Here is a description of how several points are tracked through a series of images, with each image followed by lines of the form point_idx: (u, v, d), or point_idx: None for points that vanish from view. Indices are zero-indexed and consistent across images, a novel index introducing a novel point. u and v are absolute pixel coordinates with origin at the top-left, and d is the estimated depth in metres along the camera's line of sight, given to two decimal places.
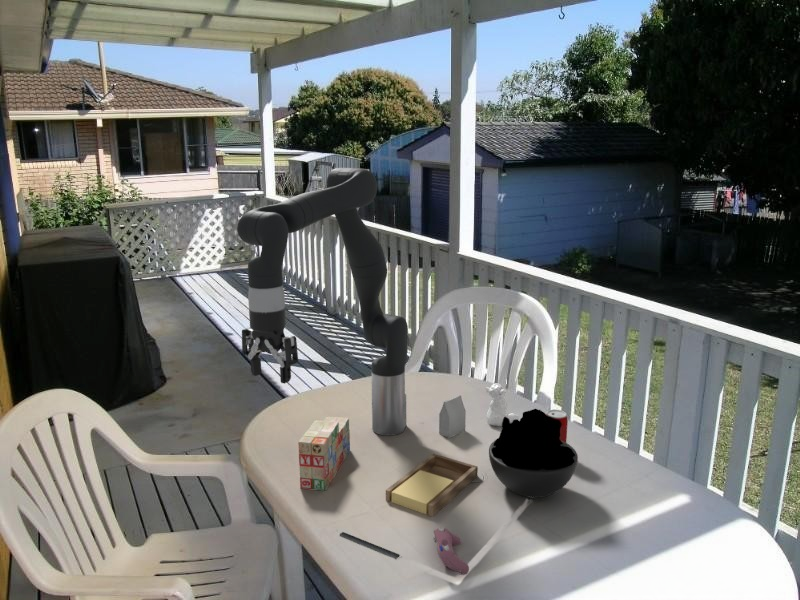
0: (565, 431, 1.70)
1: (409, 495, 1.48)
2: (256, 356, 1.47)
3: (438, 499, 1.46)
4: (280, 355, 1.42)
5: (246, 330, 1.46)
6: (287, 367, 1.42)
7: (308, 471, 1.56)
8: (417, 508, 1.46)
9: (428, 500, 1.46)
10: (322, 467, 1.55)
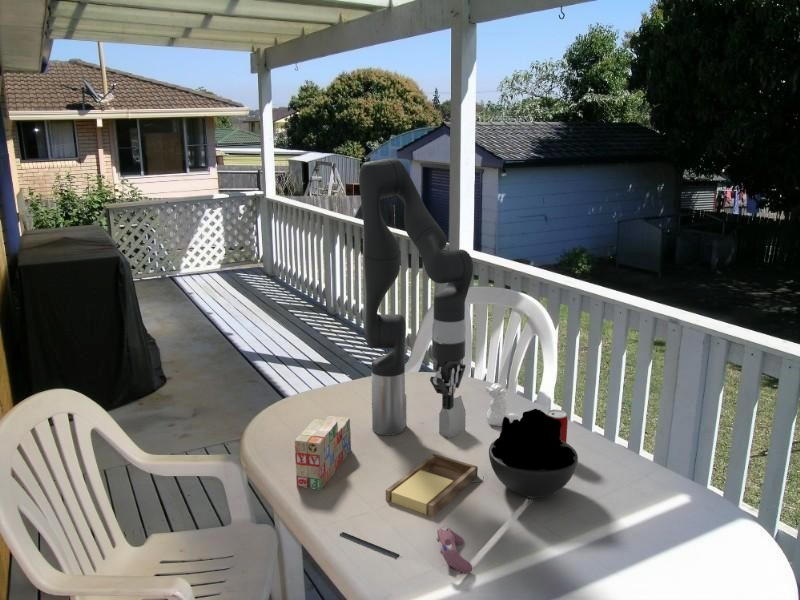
0: (565, 431, 1.70)
1: (409, 495, 1.48)
2: None
3: (438, 499, 1.46)
4: None
5: (439, 378, 1.50)
6: None
7: (304, 470, 1.57)
8: (417, 508, 1.46)
9: (428, 500, 1.46)
10: (318, 466, 1.56)
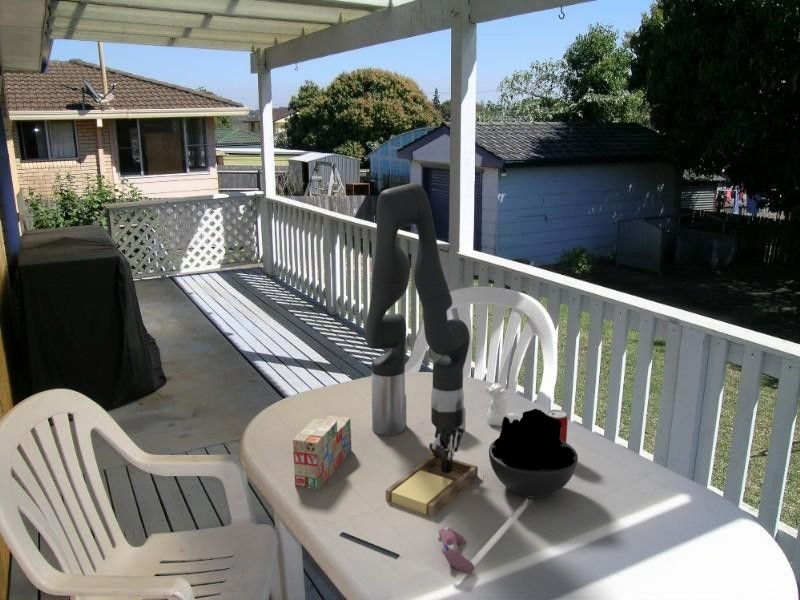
0: (565, 431, 1.70)
1: (409, 495, 1.48)
2: None
3: (438, 499, 1.46)
4: None
5: (438, 445, 1.54)
6: None
7: (302, 469, 1.57)
8: (417, 508, 1.46)
9: (428, 500, 1.46)
10: (316, 466, 1.56)
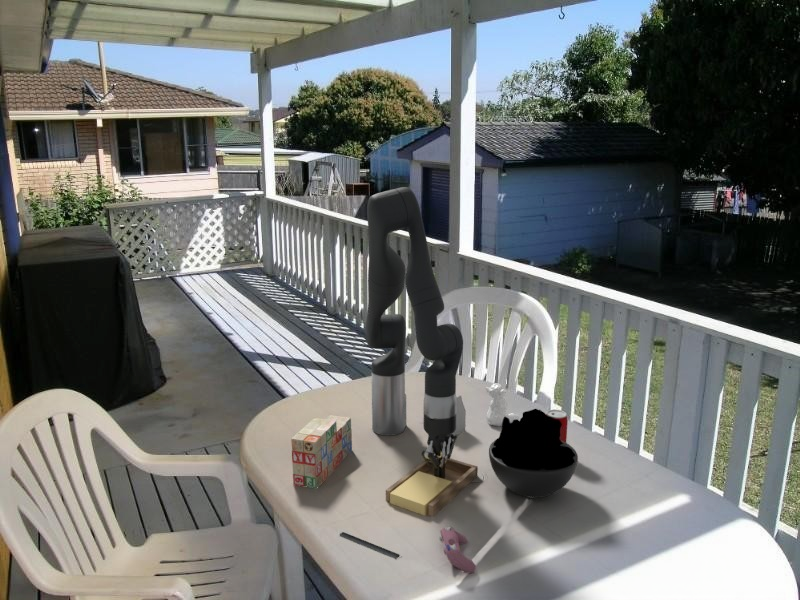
0: (565, 431, 1.70)
1: (407, 496, 1.48)
2: None
3: (438, 499, 1.46)
4: None
5: (430, 452, 1.51)
6: None
7: (300, 468, 1.58)
8: (415, 509, 1.46)
9: (426, 501, 1.45)
10: (314, 465, 1.56)
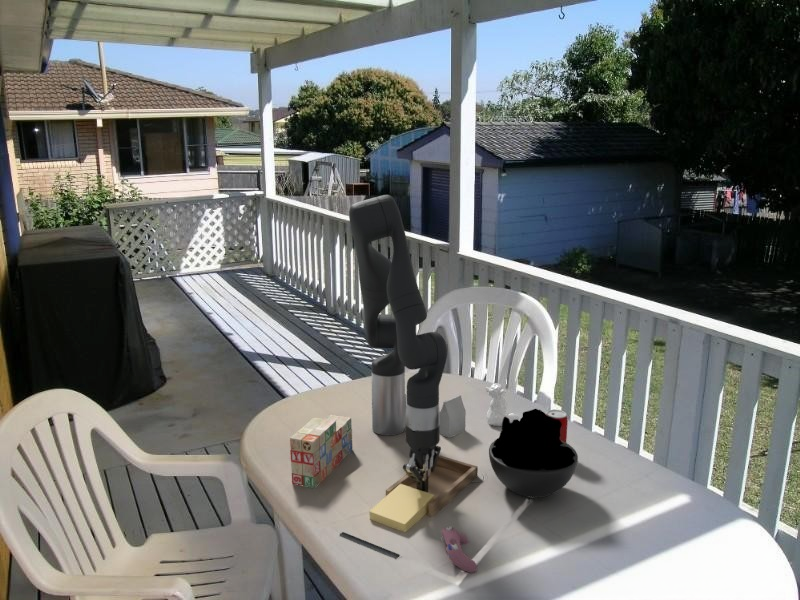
0: (565, 431, 1.70)
1: (387, 514, 1.42)
2: None
3: (438, 499, 1.46)
4: None
5: (412, 466, 1.44)
6: None
7: (299, 468, 1.58)
8: (396, 528, 1.40)
9: (407, 520, 1.39)
10: (312, 464, 1.57)
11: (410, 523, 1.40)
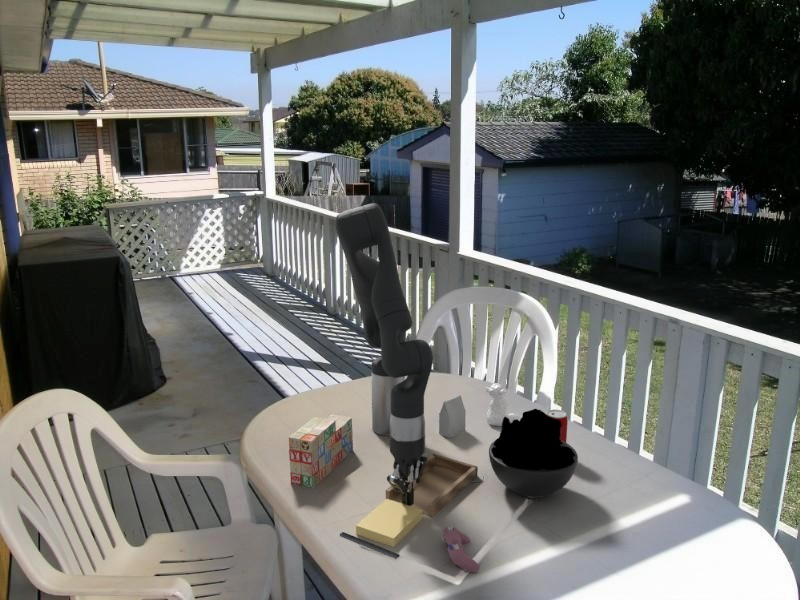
0: (565, 431, 1.70)
1: (375, 528, 1.37)
2: None
3: (438, 499, 1.46)
4: None
5: (396, 477, 1.40)
6: None
7: (298, 467, 1.58)
8: (384, 543, 1.35)
9: (396, 534, 1.35)
10: (310, 464, 1.57)
11: (399, 538, 1.35)
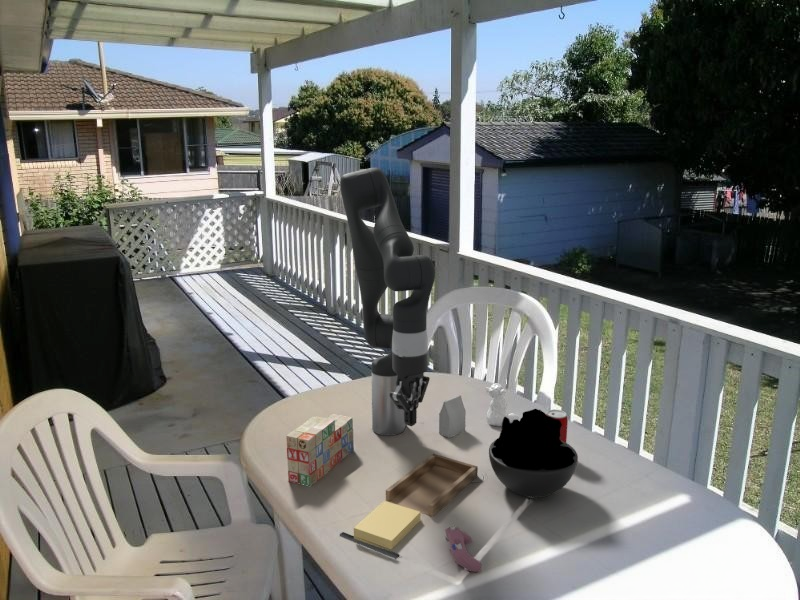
0: (565, 431, 1.70)
1: (372, 530, 1.36)
2: None
3: (438, 499, 1.46)
4: None
5: (399, 393, 1.39)
6: None
7: (295, 466, 1.59)
8: (382, 545, 1.34)
9: (394, 536, 1.34)
10: (307, 463, 1.57)
11: (396, 540, 1.35)
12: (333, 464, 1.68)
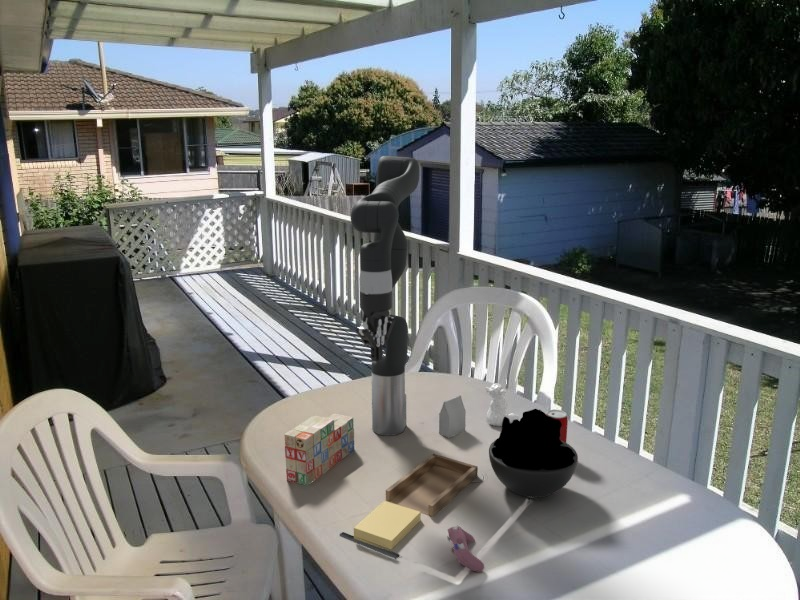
0: (565, 431, 1.70)
1: (372, 530, 1.36)
2: None
3: (438, 499, 1.46)
4: None
5: (365, 328, 1.51)
6: None
7: (293, 464, 1.60)
8: (382, 545, 1.34)
9: (394, 536, 1.34)
10: (304, 462, 1.58)
11: (396, 540, 1.35)
12: (332, 463, 1.68)
